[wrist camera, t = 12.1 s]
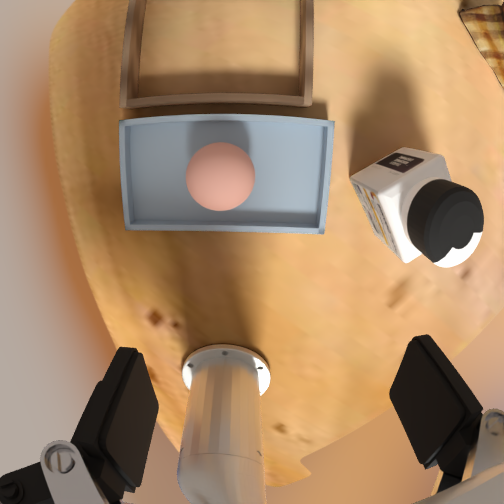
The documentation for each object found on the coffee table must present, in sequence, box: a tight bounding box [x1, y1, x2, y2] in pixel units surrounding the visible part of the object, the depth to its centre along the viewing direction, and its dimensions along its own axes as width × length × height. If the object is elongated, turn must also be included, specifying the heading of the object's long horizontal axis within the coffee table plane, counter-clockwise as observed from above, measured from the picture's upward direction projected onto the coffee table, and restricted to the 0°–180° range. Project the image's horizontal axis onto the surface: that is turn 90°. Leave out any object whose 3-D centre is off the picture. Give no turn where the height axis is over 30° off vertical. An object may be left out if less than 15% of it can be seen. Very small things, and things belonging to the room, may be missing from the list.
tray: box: [119, 114, 335, 234], centre depth 27 cm, size 11×20×2 cm, turn 88°
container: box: [350, 147, 484, 267], centre depth 23 cm, size 8×8×13 cm
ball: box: [186, 142, 255, 211], centre depth 24 cm, size 6×6×6 cm
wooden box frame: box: [120, 0, 314, 109], centre depth 20 cm, size 18×17×3 cm
